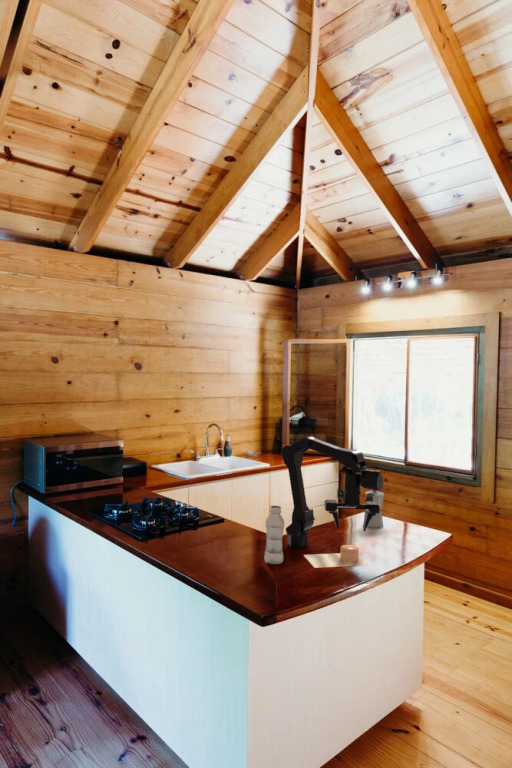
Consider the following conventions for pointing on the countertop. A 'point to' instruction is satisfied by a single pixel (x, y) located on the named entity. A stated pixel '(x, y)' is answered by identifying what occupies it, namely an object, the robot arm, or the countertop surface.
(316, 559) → the board
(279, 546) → the plastic bottle
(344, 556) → the cap
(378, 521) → the coffee maker
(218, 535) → the countertop surface
